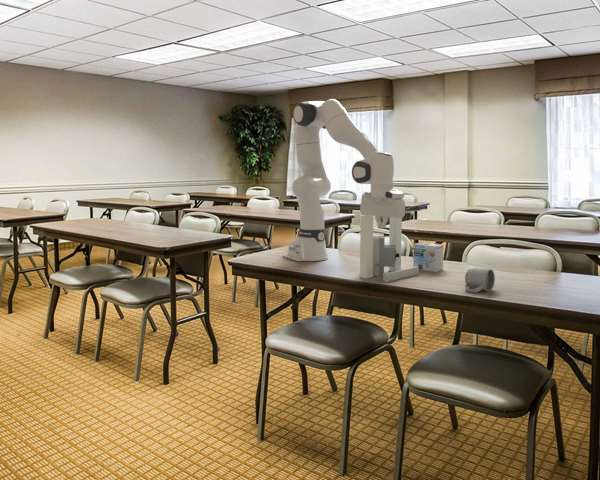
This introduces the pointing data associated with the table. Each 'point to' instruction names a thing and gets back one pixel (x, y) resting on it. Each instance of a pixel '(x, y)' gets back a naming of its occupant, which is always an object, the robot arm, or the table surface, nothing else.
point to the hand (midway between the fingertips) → (381, 227)
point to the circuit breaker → (382, 255)
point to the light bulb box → (428, 256)
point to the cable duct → (400, 273)
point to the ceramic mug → (479, 280)
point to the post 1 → (366, 246)
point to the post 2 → (396, 240)
